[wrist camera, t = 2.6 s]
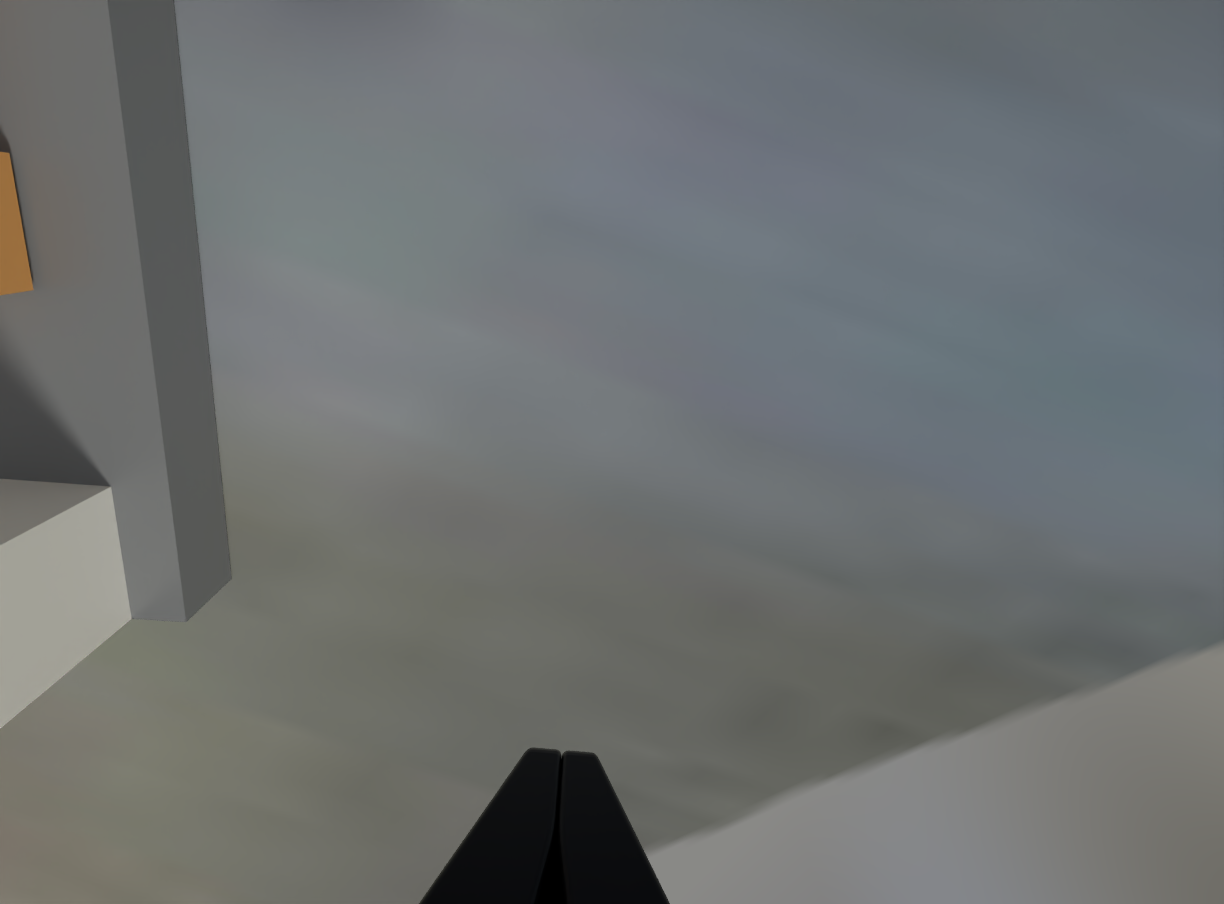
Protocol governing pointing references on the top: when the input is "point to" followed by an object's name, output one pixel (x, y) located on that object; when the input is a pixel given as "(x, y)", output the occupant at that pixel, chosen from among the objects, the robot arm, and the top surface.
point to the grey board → (111, 290)
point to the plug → (55, 583)
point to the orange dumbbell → (11, 236)
